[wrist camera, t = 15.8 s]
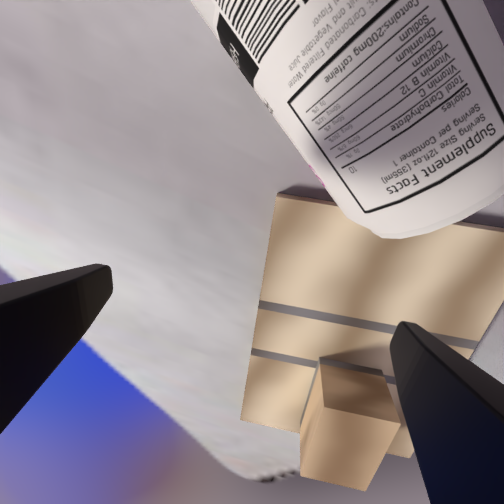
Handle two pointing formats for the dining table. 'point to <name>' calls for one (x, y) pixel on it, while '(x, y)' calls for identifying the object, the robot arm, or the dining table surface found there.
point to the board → (361, 302)
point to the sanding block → (346, 424)
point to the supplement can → (380, 100)
